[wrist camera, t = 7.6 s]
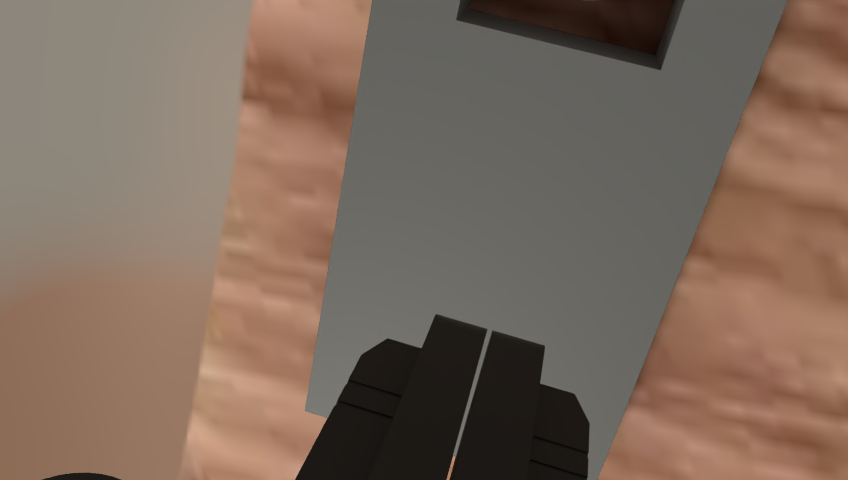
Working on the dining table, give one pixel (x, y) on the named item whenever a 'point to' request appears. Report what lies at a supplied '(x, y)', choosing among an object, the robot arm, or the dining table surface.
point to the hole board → (530, 188)
